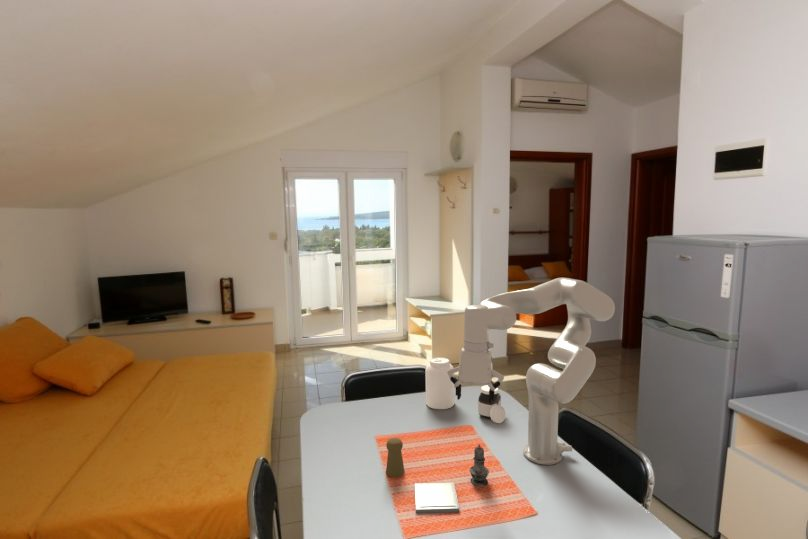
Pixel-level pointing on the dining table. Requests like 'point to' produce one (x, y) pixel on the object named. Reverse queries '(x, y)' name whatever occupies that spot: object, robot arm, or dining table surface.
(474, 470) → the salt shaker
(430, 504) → the coaster
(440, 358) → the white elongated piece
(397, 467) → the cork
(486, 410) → the spread jar
